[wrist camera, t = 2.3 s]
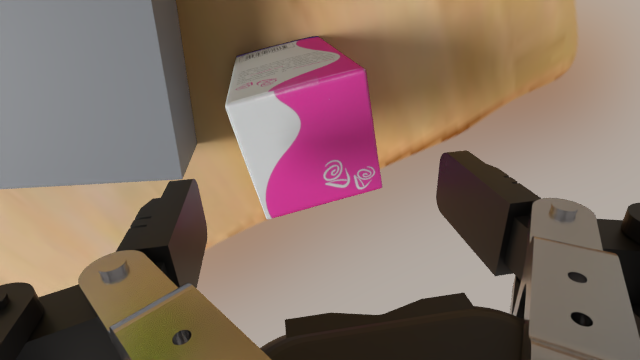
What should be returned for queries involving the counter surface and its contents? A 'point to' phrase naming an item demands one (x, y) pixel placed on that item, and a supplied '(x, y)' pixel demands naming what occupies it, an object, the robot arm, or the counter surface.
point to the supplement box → (303, 125)
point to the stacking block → (92, 93)
